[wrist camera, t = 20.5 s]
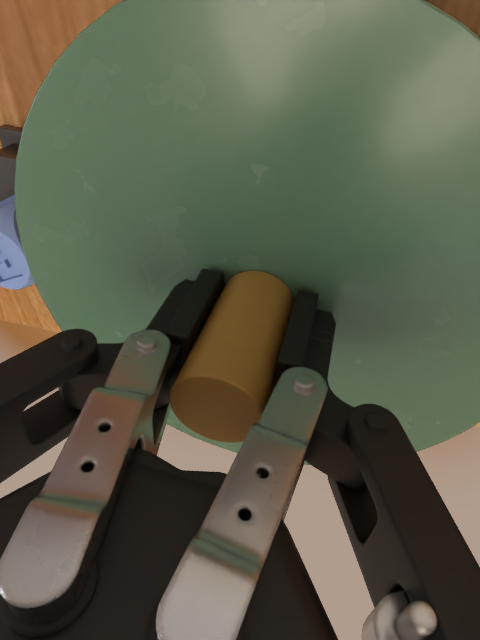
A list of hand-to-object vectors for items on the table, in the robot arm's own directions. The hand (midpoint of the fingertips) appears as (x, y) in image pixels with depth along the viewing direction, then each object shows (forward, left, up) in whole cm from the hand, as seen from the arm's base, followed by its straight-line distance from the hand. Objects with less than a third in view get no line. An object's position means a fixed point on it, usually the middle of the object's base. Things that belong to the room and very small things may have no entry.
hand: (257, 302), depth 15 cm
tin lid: (0, 0, -1) cm, 1 cm away
